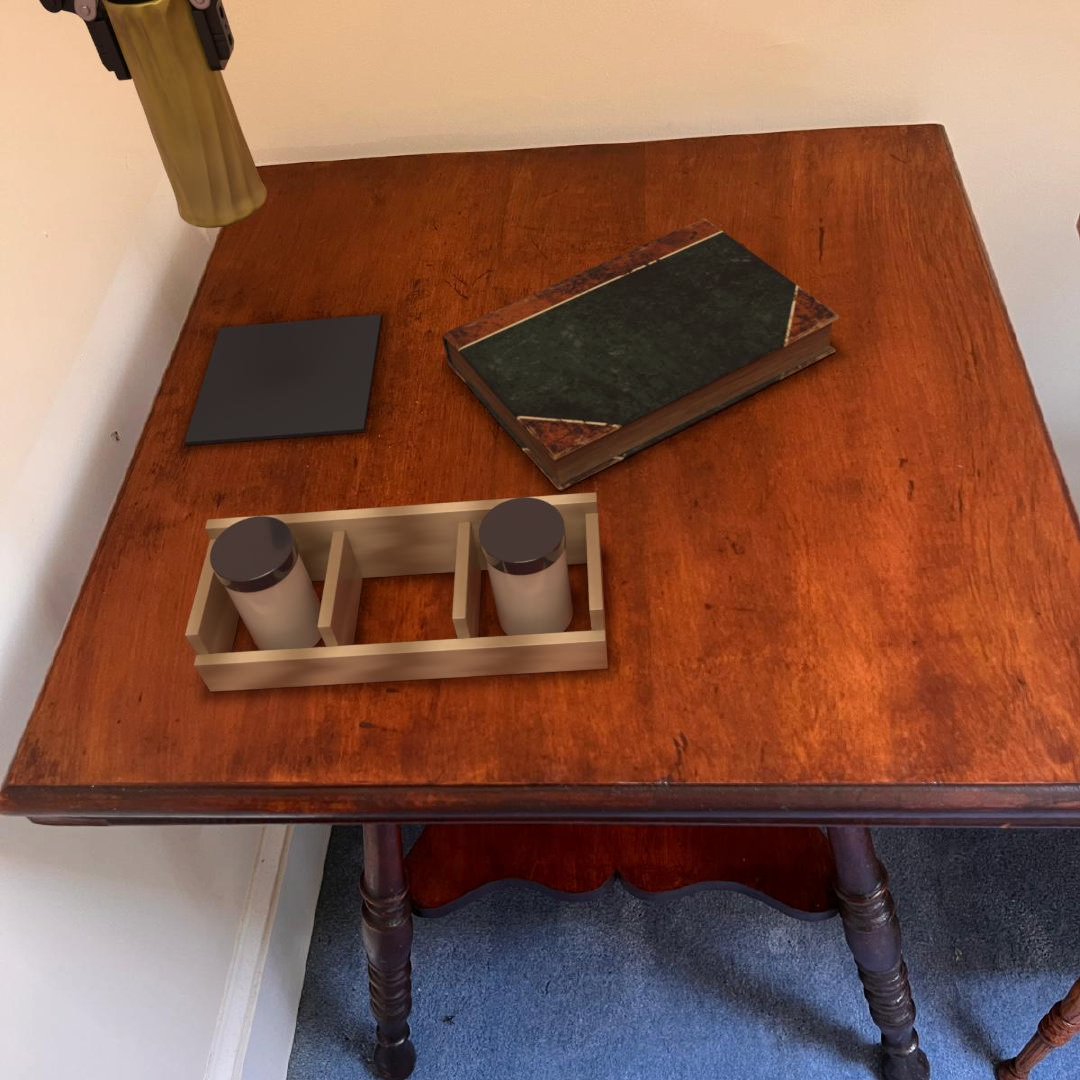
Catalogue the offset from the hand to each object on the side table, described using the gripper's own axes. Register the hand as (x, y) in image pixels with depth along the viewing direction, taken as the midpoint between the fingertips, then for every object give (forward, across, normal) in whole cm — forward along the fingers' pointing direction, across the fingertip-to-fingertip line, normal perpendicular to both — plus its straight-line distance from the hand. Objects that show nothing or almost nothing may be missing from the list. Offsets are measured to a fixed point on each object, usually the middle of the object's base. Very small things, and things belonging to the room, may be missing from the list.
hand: (174, 68), depth 64 cm
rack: (+25, -12, +25) cm, 37 cm away
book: (+26, -28, +1) cm, 38 cm away
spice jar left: (+25, -4, +25) cm, 36 cm away
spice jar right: (+25, -20, +25) cm, 41 cm away
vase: (+10, 0, 0) cm, 10 cm away
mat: (+25, 0, 0) cm, 25 cm away
